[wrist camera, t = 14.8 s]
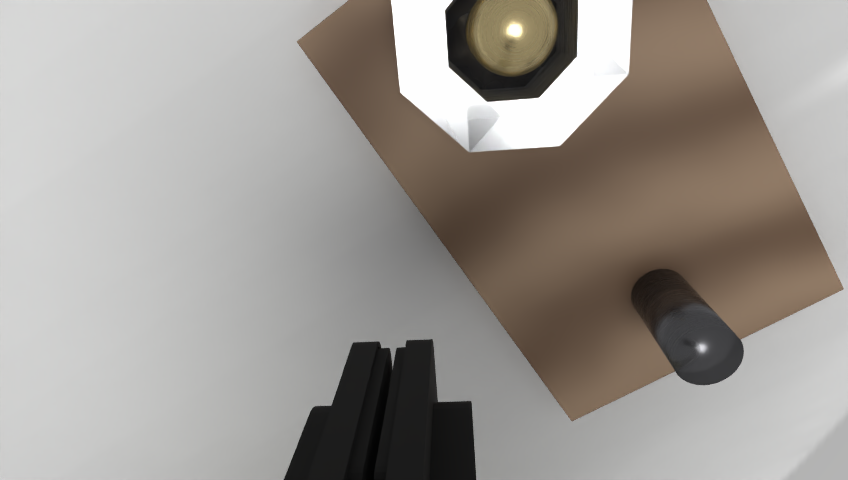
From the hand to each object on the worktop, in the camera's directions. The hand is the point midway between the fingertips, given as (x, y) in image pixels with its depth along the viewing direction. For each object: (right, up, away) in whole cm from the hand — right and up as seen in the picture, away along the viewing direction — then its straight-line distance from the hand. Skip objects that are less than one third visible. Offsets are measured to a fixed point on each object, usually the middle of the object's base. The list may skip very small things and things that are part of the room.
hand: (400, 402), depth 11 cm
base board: (+7, +7, +11) cm, 15 cm away
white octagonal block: (+3, +11, +8) cm, 14 cm away
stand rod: (+11, +1, +12) cm, 16 cm away
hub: (+3, +11, +8) cm, 14 cm away
